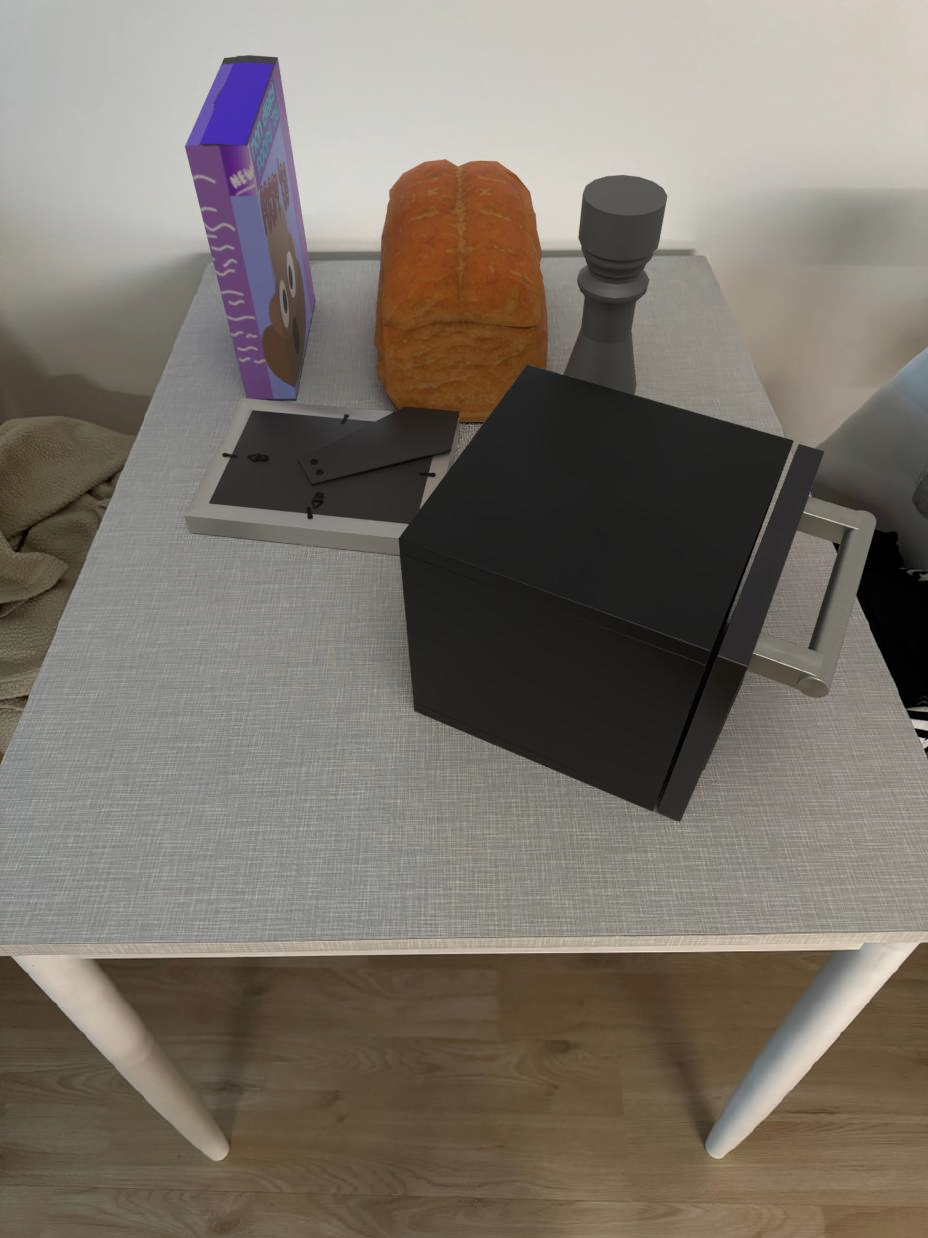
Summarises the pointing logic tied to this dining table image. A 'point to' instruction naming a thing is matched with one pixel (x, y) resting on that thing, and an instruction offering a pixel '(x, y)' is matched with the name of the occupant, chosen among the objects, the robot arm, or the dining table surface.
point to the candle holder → (614, 275)
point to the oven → (583, 575)
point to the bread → (459, 288)
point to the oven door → (744, 635)
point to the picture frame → (323, 474)
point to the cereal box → (255, 223)
